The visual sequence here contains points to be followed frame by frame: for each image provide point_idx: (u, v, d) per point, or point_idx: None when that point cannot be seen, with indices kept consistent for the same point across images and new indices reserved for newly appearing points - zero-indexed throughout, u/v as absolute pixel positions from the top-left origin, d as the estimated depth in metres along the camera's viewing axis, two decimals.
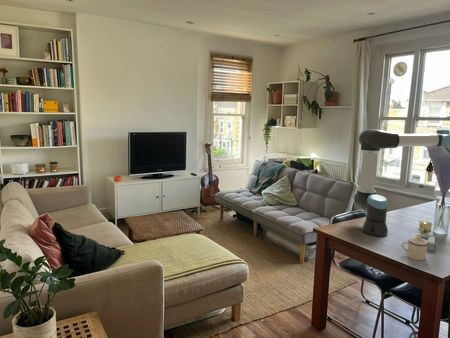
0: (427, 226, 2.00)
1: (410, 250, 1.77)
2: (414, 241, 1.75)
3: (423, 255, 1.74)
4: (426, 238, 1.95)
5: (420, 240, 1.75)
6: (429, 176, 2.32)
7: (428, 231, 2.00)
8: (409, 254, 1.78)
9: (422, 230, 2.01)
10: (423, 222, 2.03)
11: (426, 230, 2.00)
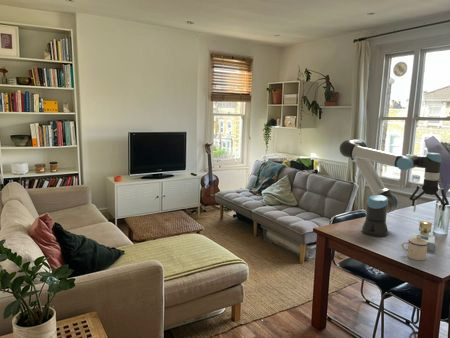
0: (427, 226, 2.00)
1: (410, 250, 1.77)
2: (414, 241, 1.75)
3: (423, 255, 1.74)
4: (426, 238, 1.95)
5: (420, 240, 1.75)
6: None
7: (428, 231, 2.00)
8: (409, 254, 1.78)
9: (422, 230, 2.01)
10: (423, 222, 2.03)
11: (426, 230, 2.00)
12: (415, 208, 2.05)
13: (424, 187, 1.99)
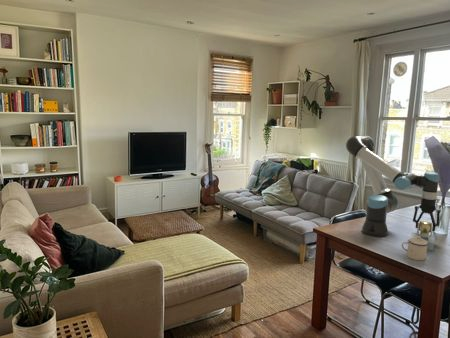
0: (427, 226, 2.00)
1: (410, 250, 1.77)
2: (414, 241, 1.75)
3: (423, 255, 1.74)
4: (426, 238, 1.95)
5: (420, 240, 1.75)
6: (431, 229, 2.02)
7: (428, 231, 2.00)
8: (409, 254, 1.78)
9: (422, 230, 2.01)
10: (423, 222, 2.03)
11: (426, 230, 2.00)
12: (418, 230, 2.05)
13: (421, 206, 2.01)
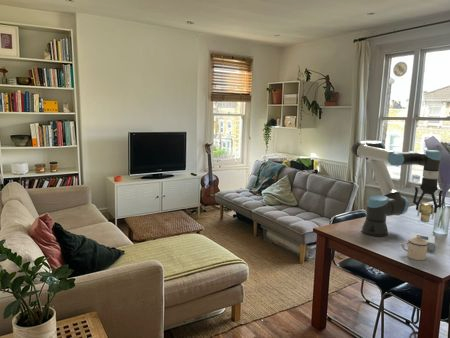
0: (428, 207, 1.88)
1: (410, 250, 1.77)
2: (414, 241, 1.75)
3: (423, 255, 1.74)
4: (426, 238, 1.95)
5: (420, 240, 1.75)
6: None
7: (429, 213, 1.88)
8: (409, 254, 1.78)
9: (423, 212, 1.89)
10: (424, 203, 1.91)
11: (427, 212, 1.88)
12: (419, 212, 1.93)
13: (422, 186, 1.89)
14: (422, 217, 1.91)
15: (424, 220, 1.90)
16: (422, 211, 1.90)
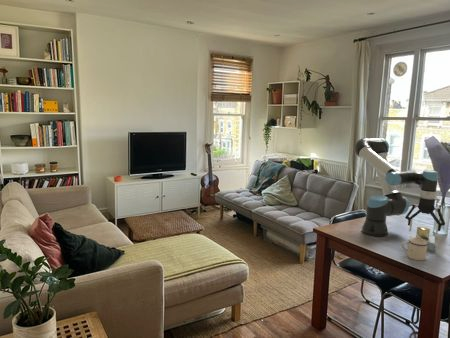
0: (425, 232, 1.90)
1: (410, 250, 1.77)
2: (414, 241, 1.75)
3: (423, 255, 1.74)
4: None
5: (420, 240, 1.75)
6: None
7: (426, 237, 1.91)
8: (409, 254, 1.78)
9: (420, 236, 1.92)
10: (421, 228, 1.93)
11: (424, 236, 1.91)
12: (411, 227, 1.97)
13: (420, 206, 1.91)
14: None
15: None
16: (419, 235, 1.92)
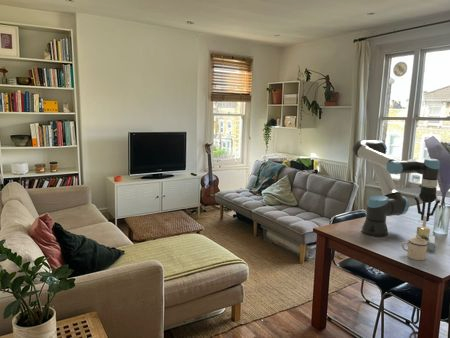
0: (425, 232, 1.90)
1: (410, 250, 1.77)
2: (414, 241, 1.75)
3: (423, 255, 1.74)
4: None
5: (420, 240, 1.75)
6: None
7: (426, 237, 1.91)
8: (409, 254, 1.78)
9: (420, 236, 1.92)
10: (421, 228, 1.93)
11: (424, 236, 1.91)
12: None
13: (421, 194, 1.90)
14: None
15: None
16: (419, 235, 1.92)
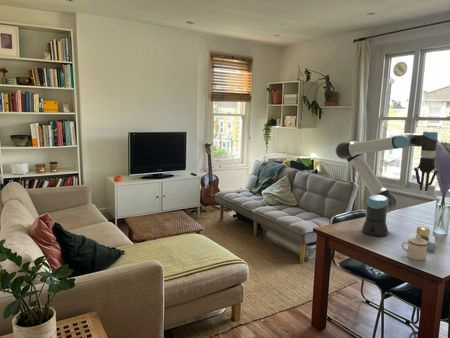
0: (425, 232, 1.90)
1: (410, 250, 1.77)
2: (414, 241, 1.75)
3: (423, 255, 1.74)
4: None
5: (420, 240, 1.75)
6: None
7: (426, 237, 1.91)
8: (409, 254, 1.78)
9: (420, 236, 1.92)
10: (421, 228, 1.93)
11: (424, 236, 1.91)
12: None
13: (420, 165, 2.00)
14: None
15: None
16: (419, 235, 1.92)
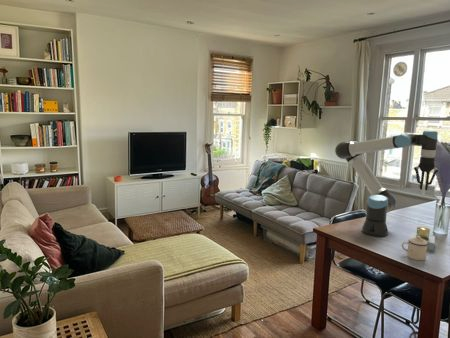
0: (425, 232, 1.90)
1: (410, 250, 1.77)
2: (414, 241, 1.75)
3: (423, 255, 1.74)
4: None
5: (420, 240, 1.75)
6: None
7: (426, 237, 1.91)
8: (409, 254, 1.78)
9: (420, 236, 1.92)
10: (421, 228, 1.93)
11: (424, 236, 1.91)
12: None
13: (420, 165, 2.01)
14: None
15: None
16: (419, 235, 1.92)
